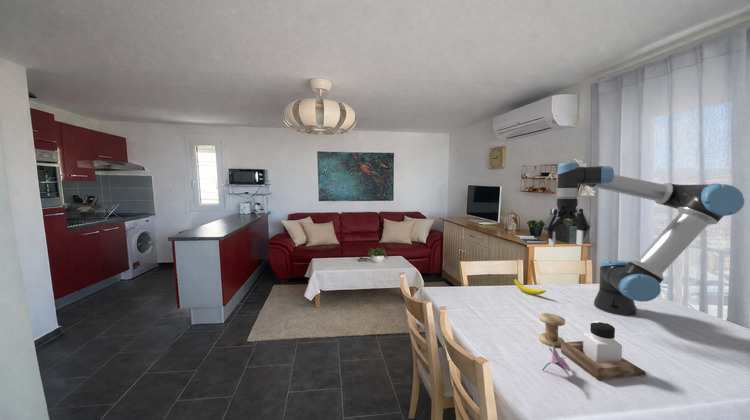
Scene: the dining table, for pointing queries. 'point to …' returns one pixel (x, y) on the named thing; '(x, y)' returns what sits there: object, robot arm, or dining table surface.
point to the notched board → (599, 370)
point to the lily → (558, 360)
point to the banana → (528, 290)
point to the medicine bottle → (602, 343)
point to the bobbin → (551, 329)
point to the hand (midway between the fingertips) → (565, 245)
